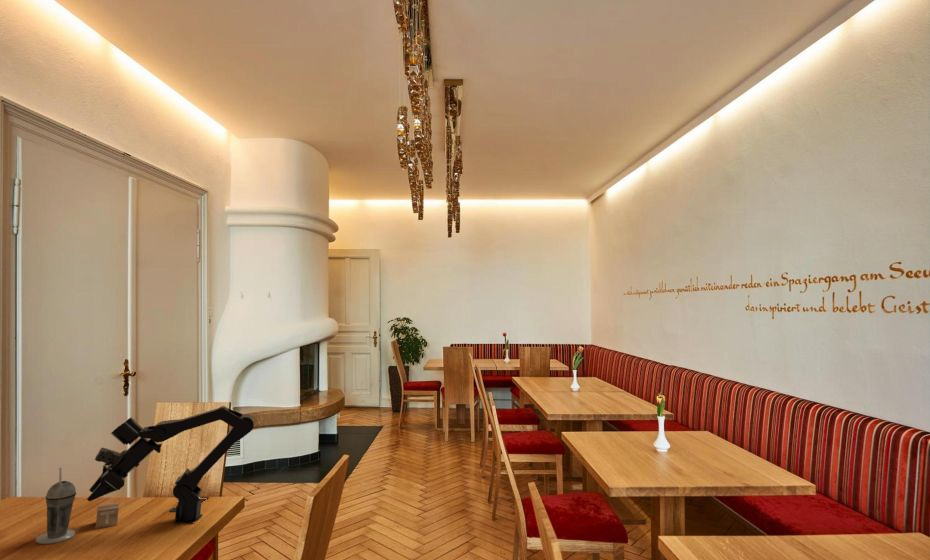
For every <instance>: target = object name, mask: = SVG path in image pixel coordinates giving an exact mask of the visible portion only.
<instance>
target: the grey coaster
mask: <svg viewBox="0 0 930 560" xmlns="http://www.w3.org/2000/svg"><path fill="white" fill-rule="evenodd" d="M75 535H76V531H75V530H74V529H70V528H68V530H67V534H66V535H65V536H62V537H59V538H53V539H50V538H47V536H48V535H47V532H45V533H42V534H40V535H38V536H37V537H36V538H35V543H36V544H37V545H53V544H52V543H54V544H59V543H62V542H66V541H69V540H70V539H72V538H73V537H74V536H75Z"/></svg>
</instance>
